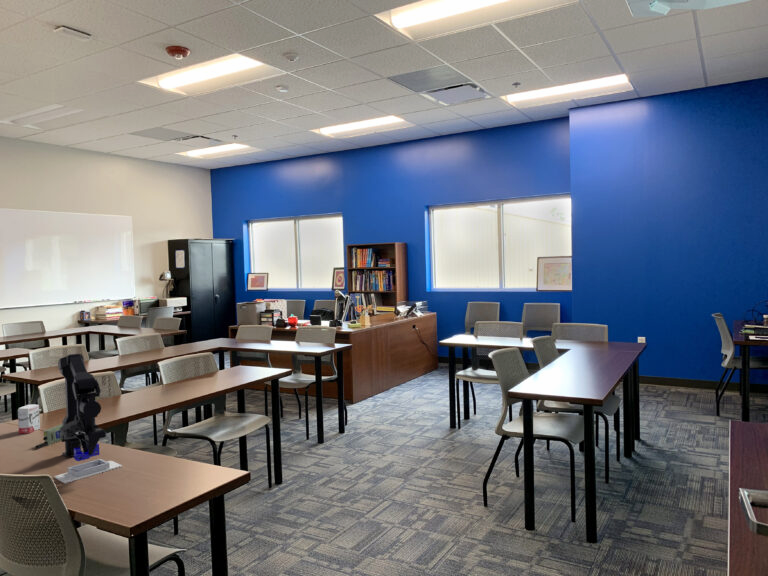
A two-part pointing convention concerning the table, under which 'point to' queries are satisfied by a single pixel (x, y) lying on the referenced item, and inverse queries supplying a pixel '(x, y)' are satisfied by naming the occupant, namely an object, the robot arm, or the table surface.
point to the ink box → (28, 418)
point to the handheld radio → (51, 436)
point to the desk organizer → (87, 470)
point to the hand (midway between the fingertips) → (88, 454)
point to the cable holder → (82, 456)
